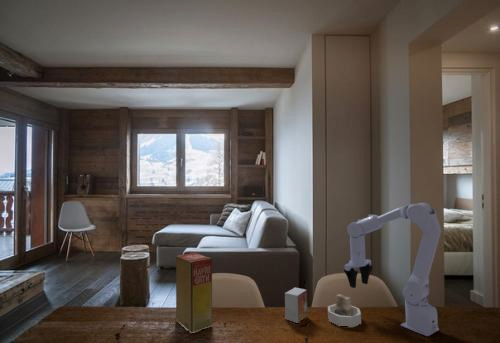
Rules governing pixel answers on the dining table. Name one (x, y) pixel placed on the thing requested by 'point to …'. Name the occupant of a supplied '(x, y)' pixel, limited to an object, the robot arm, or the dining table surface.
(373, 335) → the dining table surface
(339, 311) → the clip
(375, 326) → the dining table surface
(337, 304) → the wood grain plank
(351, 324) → the bowl
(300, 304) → the small box
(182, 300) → the food packaging
